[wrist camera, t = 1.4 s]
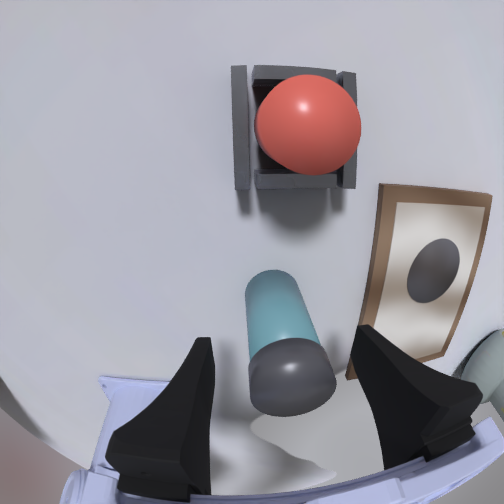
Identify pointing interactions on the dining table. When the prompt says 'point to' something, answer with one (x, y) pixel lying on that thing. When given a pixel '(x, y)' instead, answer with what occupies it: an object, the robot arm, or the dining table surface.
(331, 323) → the dining table surface
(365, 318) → the picture frame
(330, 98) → the button
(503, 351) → the air freshener
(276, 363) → the marker
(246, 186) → the button collar
